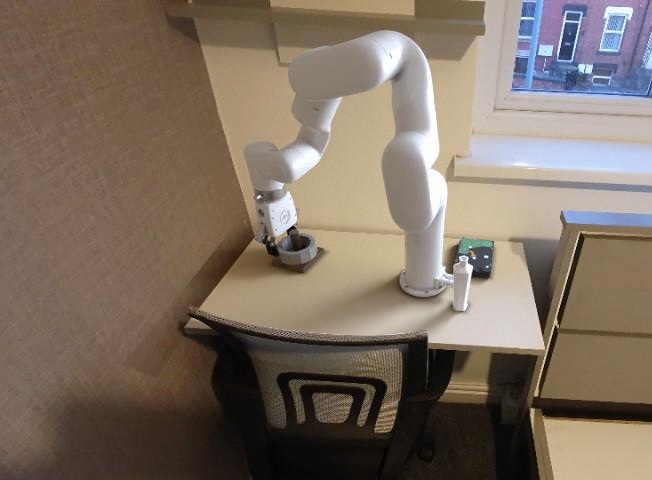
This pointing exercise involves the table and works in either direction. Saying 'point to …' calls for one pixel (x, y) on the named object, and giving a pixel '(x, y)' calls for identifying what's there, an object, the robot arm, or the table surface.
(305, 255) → the tape roll
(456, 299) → the perfume bottle
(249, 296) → the table surface
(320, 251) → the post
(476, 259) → the disk drive
